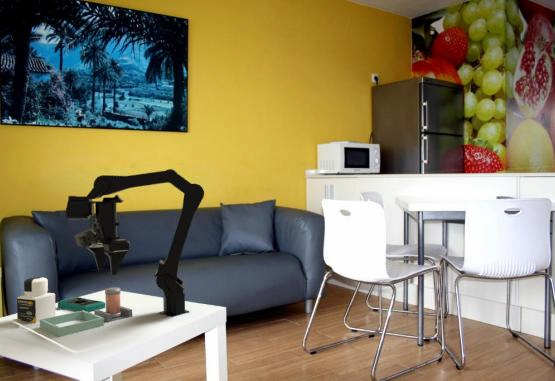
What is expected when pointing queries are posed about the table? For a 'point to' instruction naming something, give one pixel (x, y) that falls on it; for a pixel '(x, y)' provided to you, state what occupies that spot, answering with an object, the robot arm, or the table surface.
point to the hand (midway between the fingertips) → (107, 272)
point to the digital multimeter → (80, 304)
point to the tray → (91, 323)
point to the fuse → (113, 302)
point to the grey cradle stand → (108, 318)
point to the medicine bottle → (35, 301)
